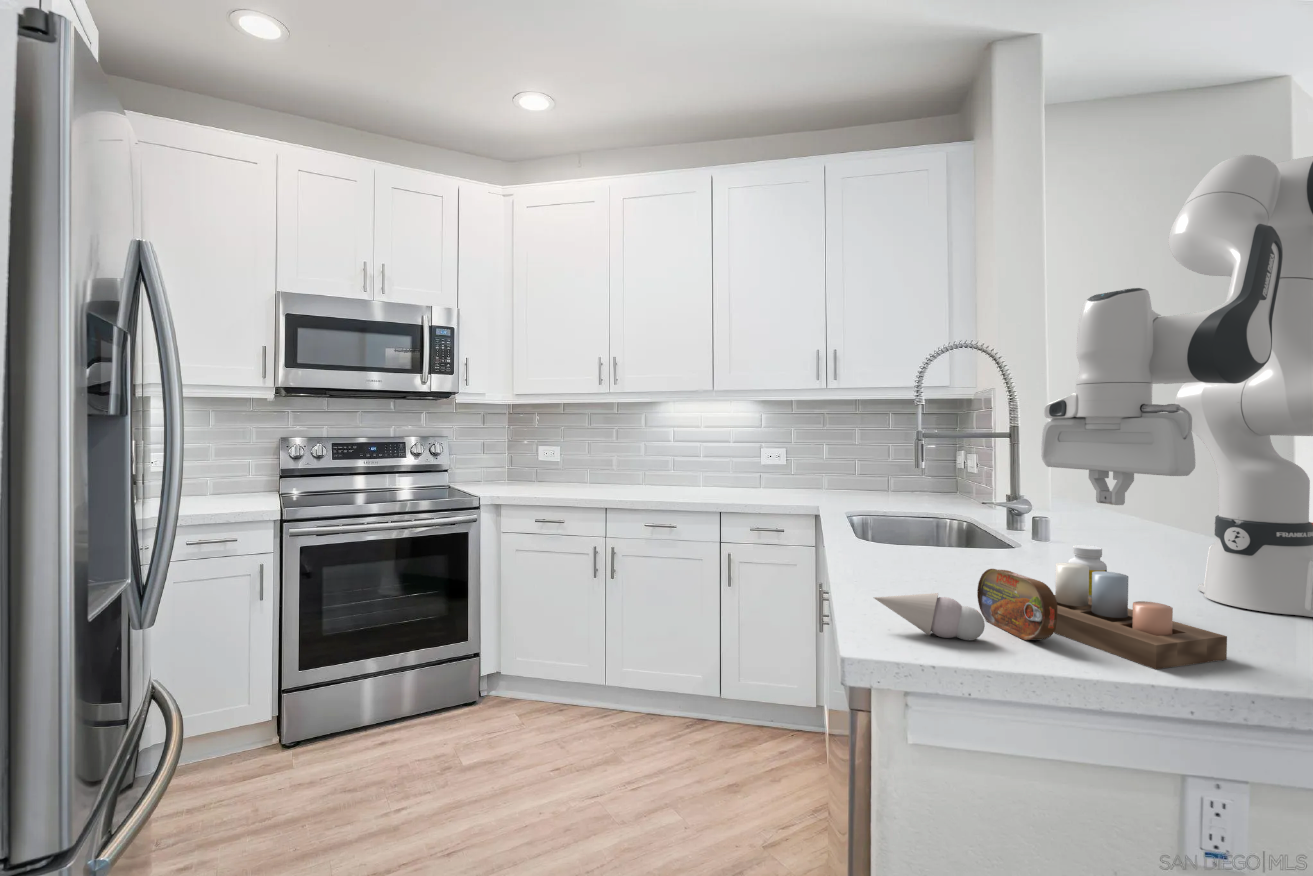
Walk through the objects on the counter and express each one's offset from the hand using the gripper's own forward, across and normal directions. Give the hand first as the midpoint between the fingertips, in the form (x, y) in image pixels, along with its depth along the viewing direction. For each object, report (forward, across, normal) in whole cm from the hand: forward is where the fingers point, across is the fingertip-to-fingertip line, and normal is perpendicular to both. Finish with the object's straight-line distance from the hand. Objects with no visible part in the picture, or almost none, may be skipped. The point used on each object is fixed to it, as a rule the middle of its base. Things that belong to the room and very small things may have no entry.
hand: (1110, 504), depth 92 cm
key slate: (+15, 0, 0) cm, 16 cm away
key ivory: (+15, +6, 0) cm, 17 cm away
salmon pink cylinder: (+18, -6, 0) cm, 19 cm away
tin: (+19, +6, +10) cm, 22 cm away
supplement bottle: (+19, +13, -12) cm, 26 cm away
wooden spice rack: (+19, 0, 0) cm, 19 cm away
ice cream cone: (+19, +8, +24) cm, 32 cm away
